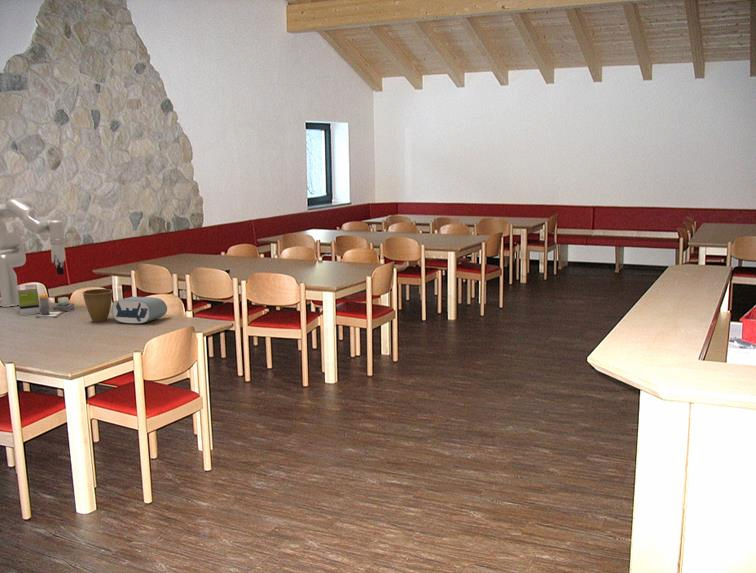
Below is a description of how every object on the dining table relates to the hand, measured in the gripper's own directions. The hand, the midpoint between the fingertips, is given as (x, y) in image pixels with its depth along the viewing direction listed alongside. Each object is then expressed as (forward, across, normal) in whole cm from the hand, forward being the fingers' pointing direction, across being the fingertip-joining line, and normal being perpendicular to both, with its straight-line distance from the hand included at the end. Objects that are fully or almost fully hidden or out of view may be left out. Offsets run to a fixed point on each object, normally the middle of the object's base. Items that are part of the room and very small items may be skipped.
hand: (60, 274), depth 433 cm
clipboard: (+21, +13, -3) cm, 25 cm away
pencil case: (+21, +35, +51) cm, 65 cm away
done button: (+18, 0, 0) cm, 18 cm away
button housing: (+21, 0, 0) cm, 21 cm away
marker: (+20, +15, -5) cm, 25 cm away
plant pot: (+21, +32, +29) cm, 48 cm away
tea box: (+21, +3, -18) cm, 28 cm away
